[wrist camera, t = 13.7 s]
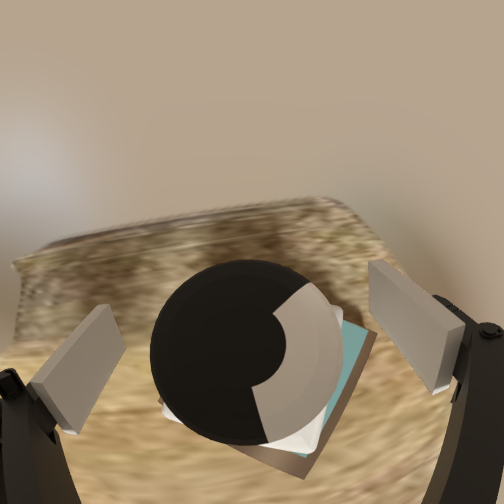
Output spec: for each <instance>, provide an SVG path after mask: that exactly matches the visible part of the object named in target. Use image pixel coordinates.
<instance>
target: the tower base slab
mask: <svg viewBox="0 0 504 504" xmlns="http://www.w3.org/2000/svg"><path fill="white" fill-rule="evenodd" d="M343 320H345V319H343ZM345 321H347V322H349V323H352V322H350V321H348V320H345ZM352 324H354V325H356V326H359V325H357V324H355V323H352ZM359 327H361V328H363V329H366V328H364V327H362V326H359ZM366 330H368V333H367V335H366V338H365V340H364V343H363V345H362V348H361V350H360V353H359V355H358V357H357V360H356V362H355V364H354V366H353V369H352V371H351V373H350V375H349V378H348V380H347V382H346V384H345V386H344V388H343V390H342V392H341V394H340V396H339V398H338V401H337V403H336V404H335V406H334V408H333V410H332V412H331V414H330V416H329V418H328V420H327V422H326V424H325V425H324V427H323V429H322V431H321V433H320V437H319V440H318V444H317V448H316V449H315V451H314V452H312V453H309V454H308V455H307V457H306V458H305V457H302V456H300V455H297V454H295V453H292V452H290V451H285V450H280V449H274V448H269V447H264V446H260V445H255V446H237V445H229V444H227V445H229V446H230V447H232V448H234V449H236V450H238V451H240V452H242V453H244V454H246V455H248V456H250V457H252V458H254V459H256V460H258V461H261V462H263V463H265V464H267V465H269V466H272V467H274V468H276V469H278V470H281V471H283V472H286V473H288V474H290V475H293V476H296V477H298V478H301V479H303V480H304V479H305V477H306V476H307V474H308V473H309V471H310V470H311V468H312V466H313V465H314V463H315V462H316V460H317V458H318V457H319V455H320V453H321V452H322V450H323V448H324V446H325V445H326V443H327V441H328V439H329V438H330V436H331V434H332V432H333V430H334V429H335V427H336V425H337V423H338V421H339V419H340V417H341V415H342V413H343V411H344V409H345V407H346V405H347V403H348V401H349V399H350V397H351V395H352V393H353V391H354V389H355V386H356V384H357V382H358V380H359V378H360V375H361V373H362V371H363V368H364V366H365V364H366V361H367V359H368V357H369V354H370V352H371V349H372V347H373V344H374V342H375V339H376V336H377V334H378V333H376V332H373V331H371V330H369V329H366ZM158 402H159V403H160V404H162V405H163V403H164V401H163V399H162V398H161V397H160V398H159V400H158Z"/></svg>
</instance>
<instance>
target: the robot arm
mask: <svg viewBox="0 0 504 504" xmlns="http://www.w3.org/2000/svg"><path fill="white" fill-rule="evenodd" d="M368 267H369V312H370V313H371V315H372V316H373V317H374V318H375V320H376V321H377V322H378V323H379V325H380V326H381V327H382V329H383V330H384V331H385V332H386V334H387V335H388V336H389V338H390V339H391V340H392V341H393V343H394V344H395V345H396V347H397V348H398V349H399V351H400V352H401V353H402V355H403V356H404V357H405V359H406V360H407V361H408V363H409V364H410V365H411V367H412V368H413V369H414V371H415V372H416V374H417V375H418V376H419V378H420V379H421V380H422V382H423V383H424V385H425V386H426V387H427V389H428V390H429V392H430V393H431V394H432V395H434V394H436V393H438V392H440V391H443V390H445V389H447V388H449V385H450V382H451V379H452V376H454V377H455V378H456V380H457V381H458V383H457V386H456V389H455V392H454V394H453V397H452V400H451V402H450V403H453V405H452V410H451V414H450V419H449V423H448V427H447V431H446V434H445V438H444V442H443V445H442V448H441V452H440V455H439V458H438V461H437V464H436V467H435V470H434V473H433V476H432V478H431V481H430V484H429V486H428V489H427V491H426V494H425V496H424V498H423V501H422V503H421V504H496V500H497V496H498V492H499V488H500V483H501V478H502V472H503V466H504V330H503V329H502V328H501V327H500V326H498V325H496V324H494V323H488V322H486V323H480V324H477V323H476V322H475V321H474V320H473V319H471V318H470V317H469V316H467V315H466V314H465V313H464V312H462V311H461V310H459V308H457V307H456V306H455V305H454V306H453V304H452V303H451V302H450V301H448V300H447V299H445V298H443V297H440V296H438V295H433V296H431V295H429V294H428V293H427V292H426V291H424V290H423V289H422V288H421V287H419V286H418V285H417V284H415V283H414V282H413V281H411V280H410V279H409V278H407V277H406V276H405V275H403V274H402V273H401V272H399V271H398V270H397V269H395V268H394V267H393V266H391V265H390V264H389V263H387V262H386V261H384V260H383V259H379V260H374V261H369V262H368ZM125 350H126V345H125V343H124V341H123V338H122V336H121V333H120V331H119V328H118V326H117V323H116V321H115V318H114V316H113V313H112V310H111V307H110V305H109V304H102V305H97V306H96V307H95V308H94V309H93V310H92V311H91V312H90V314H89V315H88V316H87V317H86V318H85V319H84V320H83V321H82V322H81V323H80V324H79V325H78V326H77V327H76V329H75V330H74V331H73V332H72V333H71V334H70V335H69V336H68V337H67V338H66V340H65V341H64V342H63V343H62V344H61V345H60V346H59V347H58V349H57V350H56V351H55V352H54V353H53V354H52V355H51V357H50V358H49V359H48V360H47V361H46V362H45V364H44V365H43V366H42V367H41V368H40V369H39V371H38V372H37V373H36V374H35V375H34V377H33V378H32V379H31V380H30V382H29V383H28V384H27V386H26V387H25V385H24V384H23V382H22V380H21V379H20V377H19V375H18V374H17V372H16V370H15V369H13V368H9V369H5V370H3V371H1V372H0V395H1V397H2V398H0V504H82V503H81V501H80V499H79V496H78V494H77V491H76V488H75V486H74V483H73V480H72V477H71V475H70V472H69V469H68V465H67V462H66V459H65V456H64V452H63V449H62V445H61V442H60V438H59V434H58V432H57V431H56V430H55V426H56V424H57V423H58V424H59V426H60V427H61V428H62V430H63V431H64V432H65V433H69V434H74V435H79V433H80V431H81V429H82V427H83V425H84V423H85V421H86V419H87V417H88V415H89V414H90V412H91V410H92V408H93V406H94V404H95V402H96V401H97V399H98V397H99V395H100V393H101V391H102V390H103V388H104V386H105V384H106V382H107V381H108V379H109V377H110V375H111V374H112V372H113V370H114V368H115V367H116V365H117V363H118V361H119V360H120V358H121V356H122V355H123V353H124V351H125Z"/></svg>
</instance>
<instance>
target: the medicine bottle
mask: <svg viewBox="0 0 504 504" xmlns="http://www.w3.org/2000/svg"><path fill="white" fill-rule="evenodd" d="M342 320H343V310H342V308H341V307H339V306H336V305H330V303H329V302H328V300H327V299H326V298H325V296H324V295H323V294H322V293H321V291H320V290H319V289H318V288H317V287H316V286H315V285H314V284H313V283H311V282H310V281H309V280H307V279H306V278H305V277H303V276H302V275H300V274H299V273H297V272H295V271H293V270H291V269H289V268H287V267H284V266H282V265H279V264H275V263H271V262H267V261H260V260H236V261H229V262H225V263H221V264H217V265H214V266H212V267H209V268H207V269H205V270H203V271H201V272H199V273H197V274H195V275H194V276H192V277H191V278H190V279H188V280H187V281H185V282H184V283H183V284H182V285H181V286H180V287H179V288H178V289H177V290H175V292H174V293H173V294H172V295H171V296H170V298H169V299H168V300H167V302H166V303H165V305H164V306H163V308H162V310H161V311H160V313H159V316H158V318H157V320H156V322H155V326H154V329H153V332H152V337H151V343H150V364H151V371H152V375H153V379H154V382H155V385H156V387H157V390H158V392H159V394H160V396H161V398H162V399H163V401H164V403H163V406H162V414H163V416H165V417H166V418H168V419H171V420H173V421H176V422H179V423H182V424H184V425H185V426H187V427H188V428H190V429H191V430H193V431H194V432H196V433H197V434H199V435H201V436H204V437H206V438H208V439H210V440H213V441H217V442H220V443H224V444H229V445H237V446H255V445H260V446H264V447H269V448H274V449H280V450H285V451H291V452H298V453H304V454H309V453H312V452H314V451H315V449H316V448H317V444H318V440H319V437H320V433H321V429H322V425H323V420H324V416H325V412H326V408H327V403H328V402H329V400H330V398H331V397H332V395H333V393H334V391H335V389H336V387H337V384H338V381H339V379H340V375H341V371H342V366H343V355H344V347H343V337H342V332H341V327H342Z"/></svg>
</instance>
